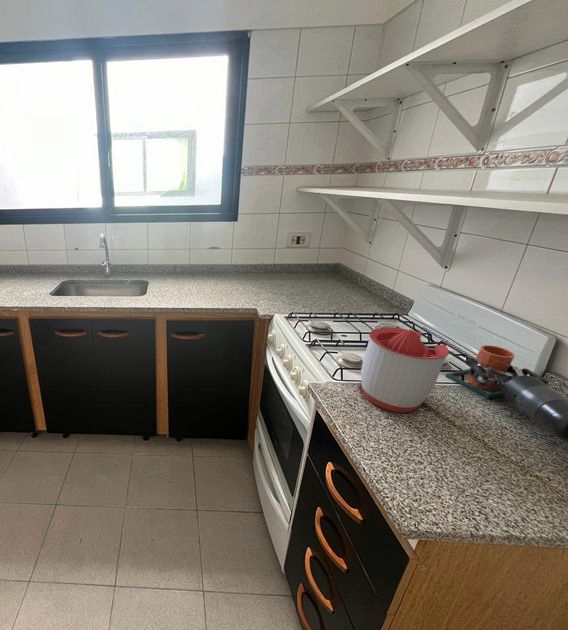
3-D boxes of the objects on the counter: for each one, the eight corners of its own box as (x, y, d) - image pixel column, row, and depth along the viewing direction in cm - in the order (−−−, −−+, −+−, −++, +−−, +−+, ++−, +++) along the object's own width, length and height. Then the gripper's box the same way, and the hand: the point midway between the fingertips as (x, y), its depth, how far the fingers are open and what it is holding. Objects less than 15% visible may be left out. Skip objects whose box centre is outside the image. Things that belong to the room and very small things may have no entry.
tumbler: (476, 378, 96) (492, 343, 92) (503, 391, 91) (521, 355, 86) (459, 382, 95) (474, 347, 90) (485, 395, 89) (503, 359, 85)
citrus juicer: (448, 413, 84) (479, 340, 76) (387, 423, 81) (413, 349, 73) (394, 377, 98) (415, 313, 90) (340, 385, 95) (357, 319, 87)
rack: (476, 374, 99) (479, 366, 98) (520, 395, 90) (524, 387, 89) (443, 381, 96) (446, 373, 95) (485, 403, 87) (489, 395, 86)
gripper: (583, 389, 75) (520, 351, 90) (507, 383, 77) (458, 347, 92) (566, 416, 78) (509, 375, 93) (493, 410, 80) (449, 370, 95)
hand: (484, 361), depth 92 cm, fingers closed on tumbler, 6 cm apart
